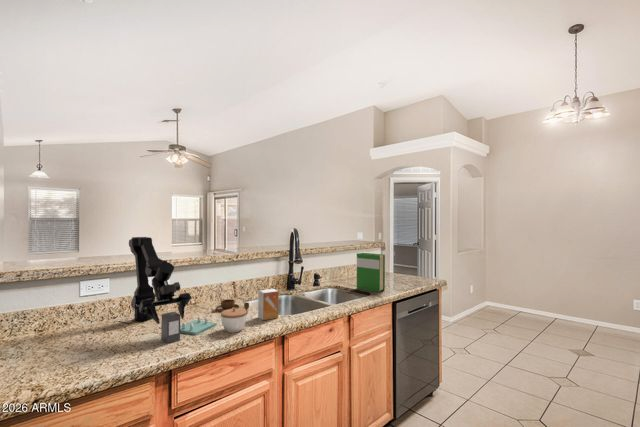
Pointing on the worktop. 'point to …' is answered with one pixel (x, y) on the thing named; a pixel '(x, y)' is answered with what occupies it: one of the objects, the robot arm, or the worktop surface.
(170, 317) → the plate
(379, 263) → the hardback book
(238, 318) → the lidded jar
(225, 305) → the place setting
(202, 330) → the pin tray
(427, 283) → the worktop surface
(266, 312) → the small box
